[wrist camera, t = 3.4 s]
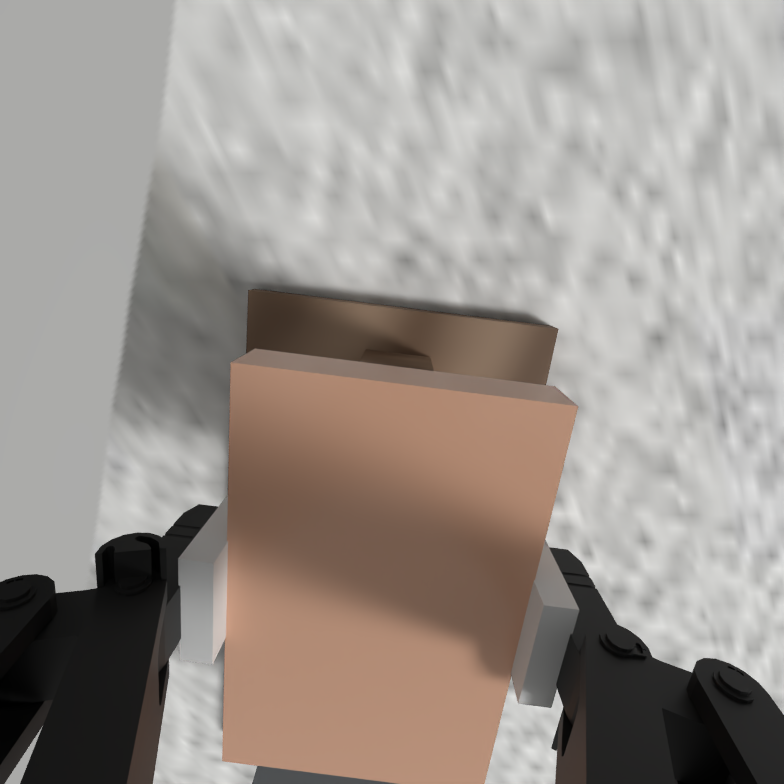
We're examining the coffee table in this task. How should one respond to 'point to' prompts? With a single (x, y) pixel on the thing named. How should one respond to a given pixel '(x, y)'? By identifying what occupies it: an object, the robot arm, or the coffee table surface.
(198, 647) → the robot arm
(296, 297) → the walnut stand
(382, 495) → the terracotta tile
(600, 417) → the coffee table surface
